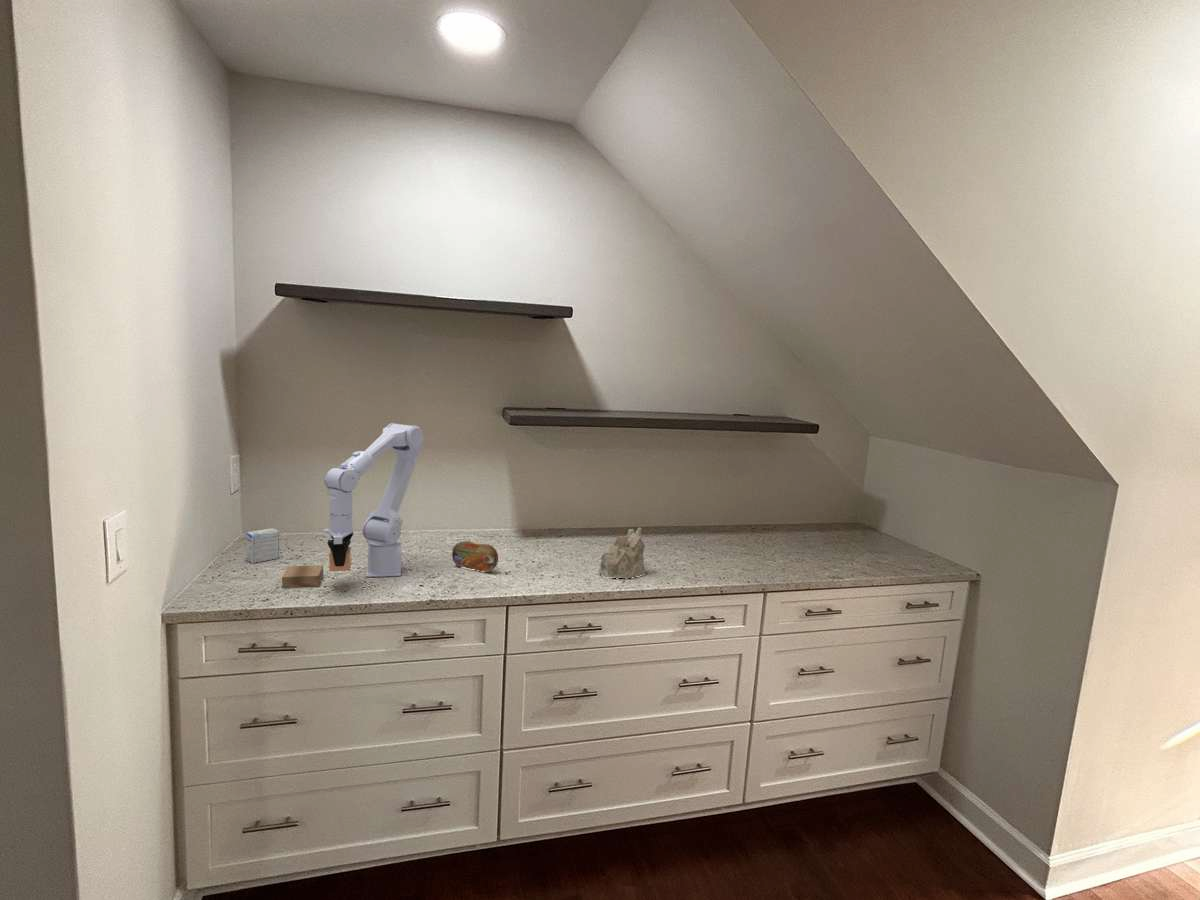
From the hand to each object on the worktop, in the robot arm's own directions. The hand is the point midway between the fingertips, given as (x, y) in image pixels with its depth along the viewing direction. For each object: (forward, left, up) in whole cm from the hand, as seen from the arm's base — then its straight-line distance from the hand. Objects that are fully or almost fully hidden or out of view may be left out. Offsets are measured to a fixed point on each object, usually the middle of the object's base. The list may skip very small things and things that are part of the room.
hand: (340, 562), depth 169 cm
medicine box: (+24, -27, -7) cm, 37 cm away
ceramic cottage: (-81, -5, -7) cm, 82 cm away
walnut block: (+10, -6, -7) cm, 14 cm away
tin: (-37, -11, -7) cm, 39 cm away
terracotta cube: (0, 0, -2) cm, 2 cm away
